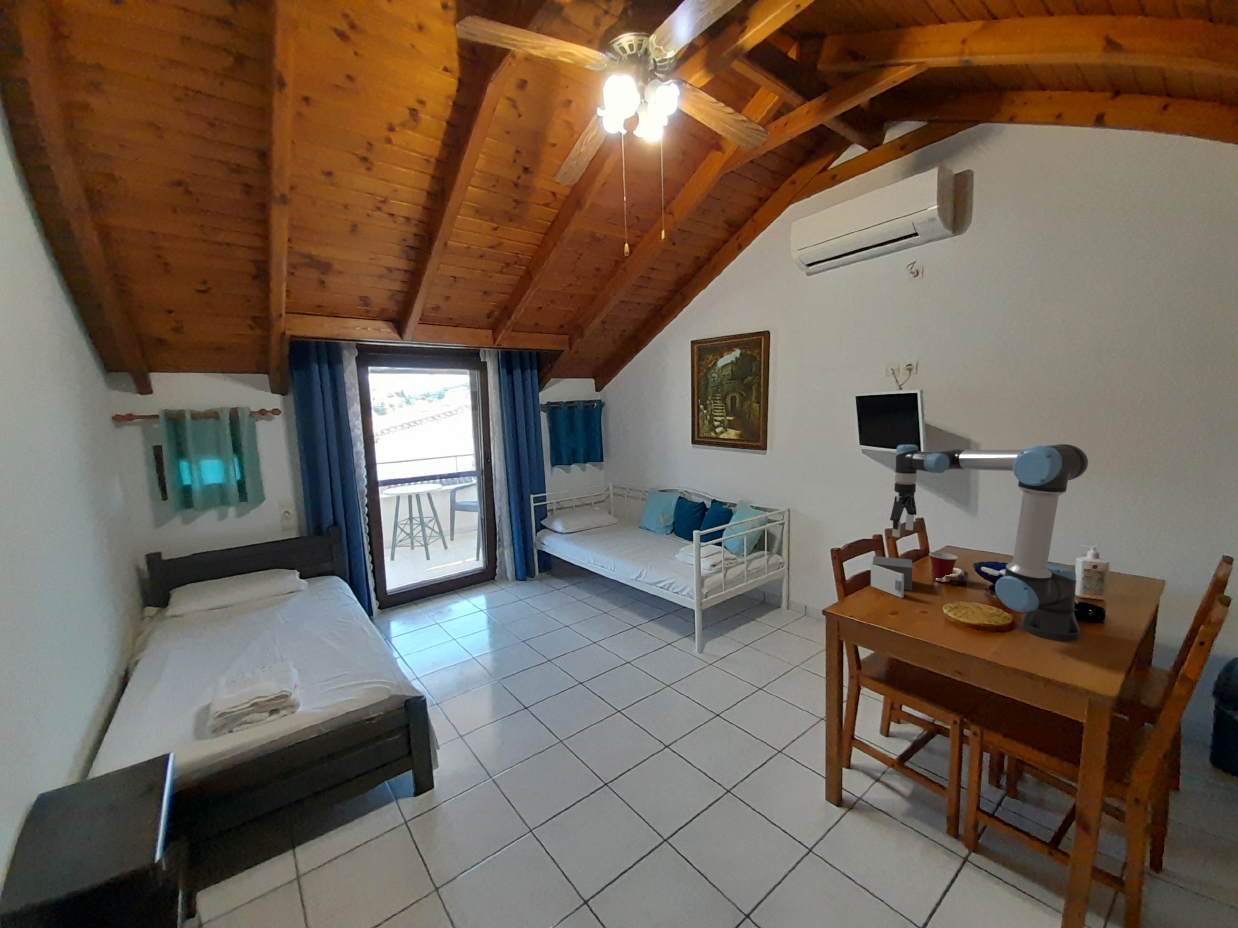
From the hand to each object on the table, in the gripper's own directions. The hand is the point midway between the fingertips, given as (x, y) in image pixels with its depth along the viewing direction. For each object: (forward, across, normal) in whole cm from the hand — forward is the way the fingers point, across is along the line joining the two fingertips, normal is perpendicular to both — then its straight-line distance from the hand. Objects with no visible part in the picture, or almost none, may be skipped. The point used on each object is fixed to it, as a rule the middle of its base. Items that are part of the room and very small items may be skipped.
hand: (902, 533), depth 205 cm
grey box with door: (+26, -8, -6) cm, 28 cm away
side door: (+25, +4, -4) cm, 26 cm away
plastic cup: (+26, -26, +8) cm, 37 cm away
